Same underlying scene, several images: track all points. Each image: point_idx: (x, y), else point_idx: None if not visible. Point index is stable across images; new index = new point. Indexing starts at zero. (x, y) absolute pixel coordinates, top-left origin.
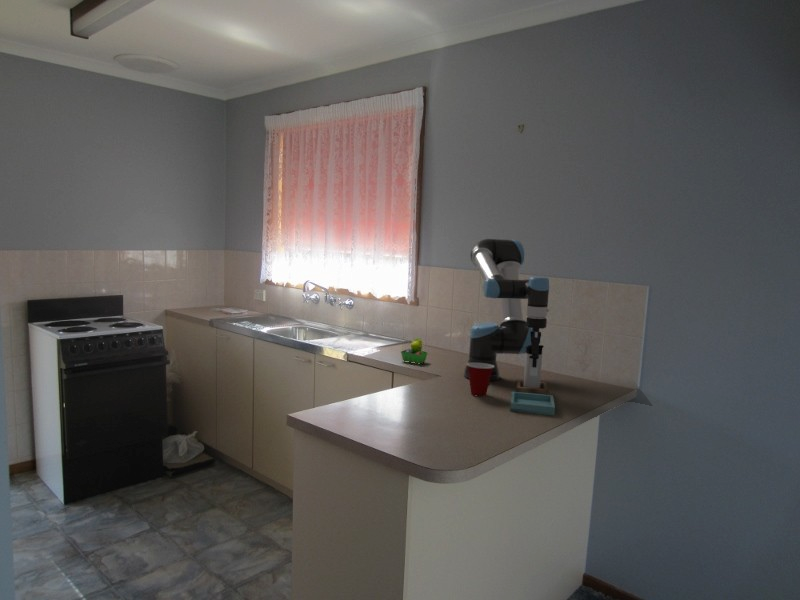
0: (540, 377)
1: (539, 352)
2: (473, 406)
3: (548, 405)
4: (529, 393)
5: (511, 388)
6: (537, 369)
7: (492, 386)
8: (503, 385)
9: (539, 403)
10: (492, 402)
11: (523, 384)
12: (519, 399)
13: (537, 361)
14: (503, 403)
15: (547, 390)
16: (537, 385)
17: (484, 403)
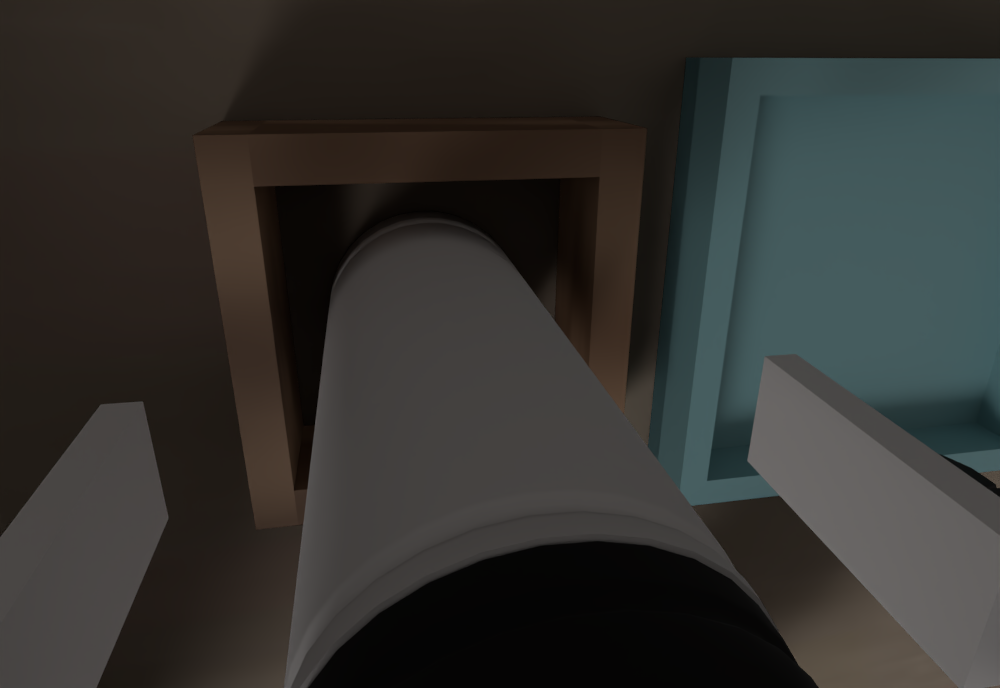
0: (475, 277)
1: (772, 653)
2: (882, 656)
3: (887, 114)
4: (710, 340)
5: (242, 512)
6: (869, 408)
7: (260, 669)
8: (156, 596)
9: (829, 210)
10: (769, 575)
11: (291, 433)
12: (733, 402)
13: (998, 513)
14: (781, 501)
15: (645, 135)
16: (521, 278)
17: (804, 615)
